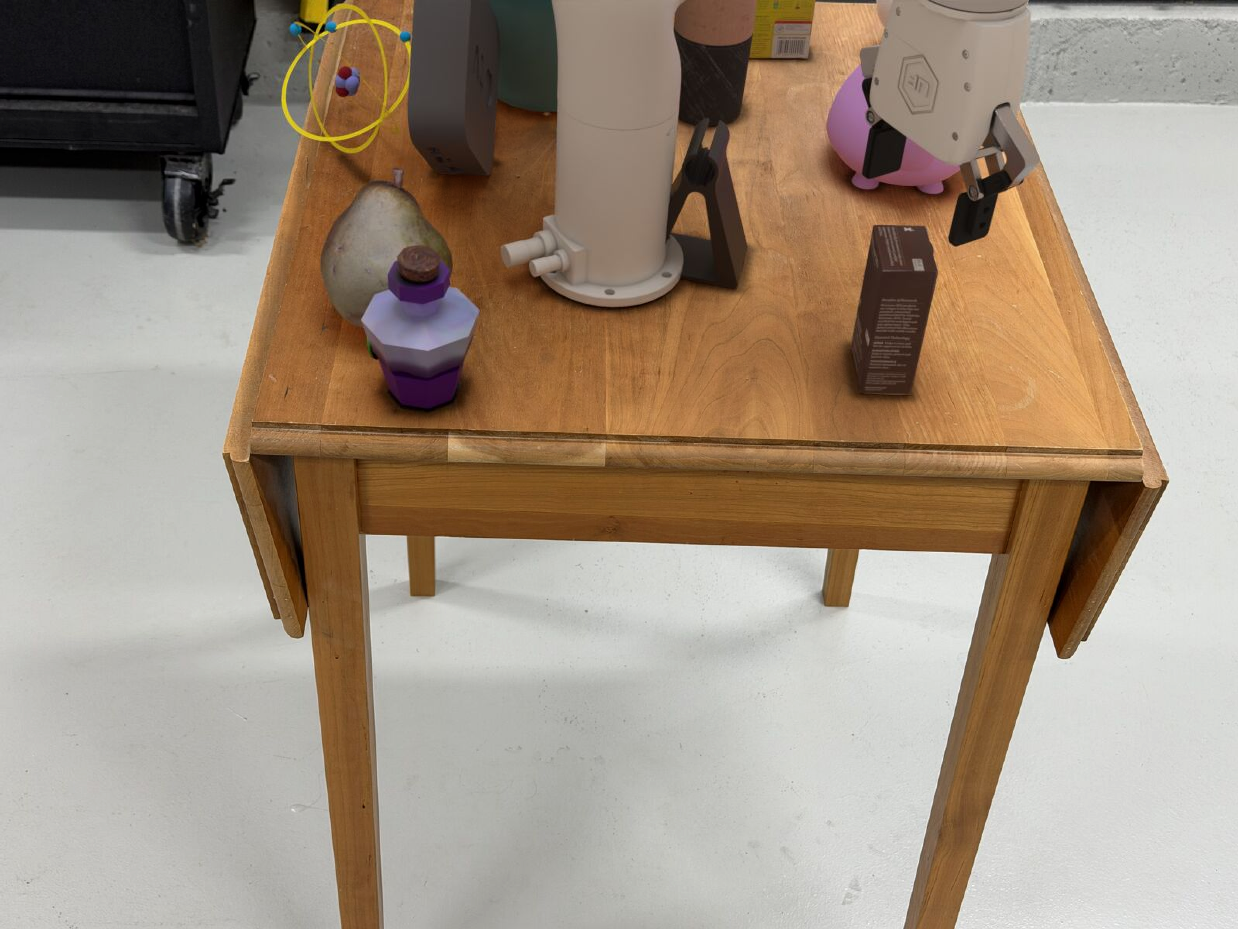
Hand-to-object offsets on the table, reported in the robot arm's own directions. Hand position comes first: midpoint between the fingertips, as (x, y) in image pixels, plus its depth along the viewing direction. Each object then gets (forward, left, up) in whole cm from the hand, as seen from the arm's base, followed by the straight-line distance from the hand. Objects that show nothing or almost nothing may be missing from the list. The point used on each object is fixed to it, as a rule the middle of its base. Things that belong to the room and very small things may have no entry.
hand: (922, 205), depth 100 cm
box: (0, 0, -16) cm, 16 cm away
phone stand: (-6, +20, -16) cm, 26 cm away
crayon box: (+23, +48, -16) cm, 56 cm away
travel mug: (+10, +41, -16) cm, 45 cm away
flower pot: (-3, +52, -16) cm, 54 cm away
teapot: (+20, +24, -16) cm, 35 cm away
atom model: (-22, +50, -2) cm, 55 cm away
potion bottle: (-33, +14, -16) cm, 39 cm away
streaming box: (-20, +43, -7) cm, 48 cm away
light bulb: (+35, +42, -16) cm, 57 cm away
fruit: (-32, +24, -16) cm, 43 cm away
